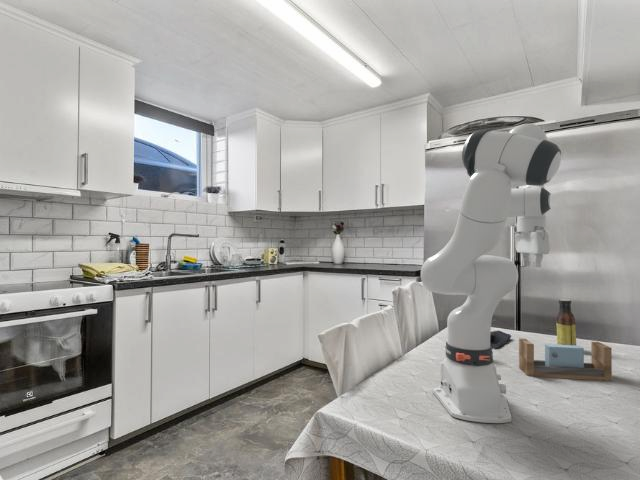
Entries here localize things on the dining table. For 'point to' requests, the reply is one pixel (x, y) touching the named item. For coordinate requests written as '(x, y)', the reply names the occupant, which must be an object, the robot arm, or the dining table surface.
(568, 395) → the dining table surface
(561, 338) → the sauce bottle
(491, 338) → the dark grey flat piece
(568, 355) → the door panel
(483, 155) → the robot arm
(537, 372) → the wooden rack
